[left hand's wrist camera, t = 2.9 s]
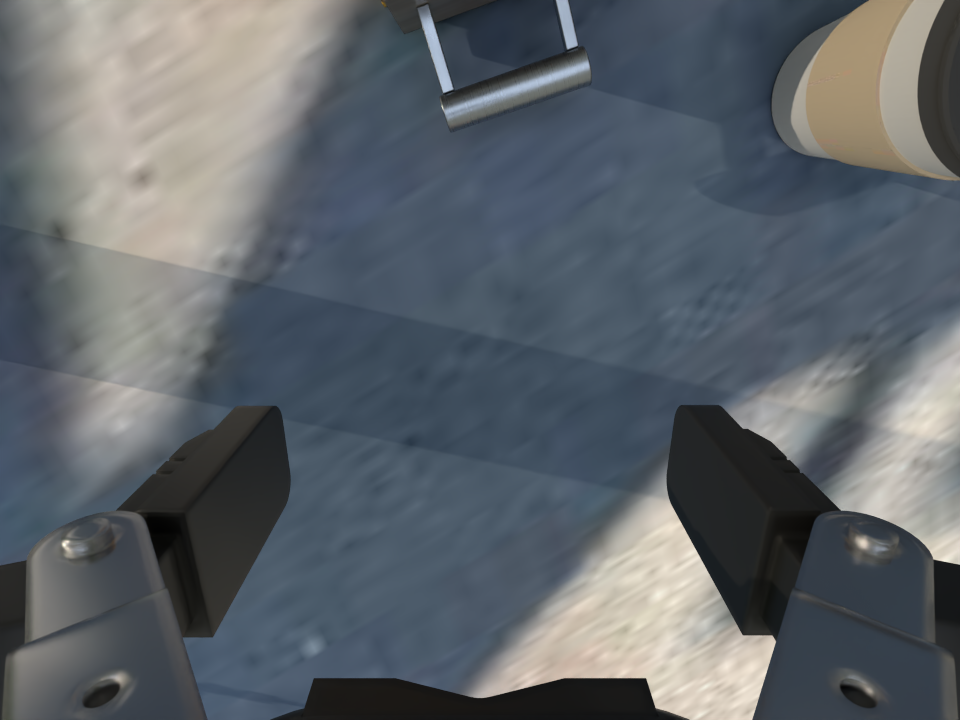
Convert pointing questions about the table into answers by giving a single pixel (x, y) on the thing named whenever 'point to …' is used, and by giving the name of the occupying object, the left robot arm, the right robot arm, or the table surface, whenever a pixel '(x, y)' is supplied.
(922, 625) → the left robot arm
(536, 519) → the table surface
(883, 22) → the coffee cup
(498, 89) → the drawer
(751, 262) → the table surface
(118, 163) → the table surface
